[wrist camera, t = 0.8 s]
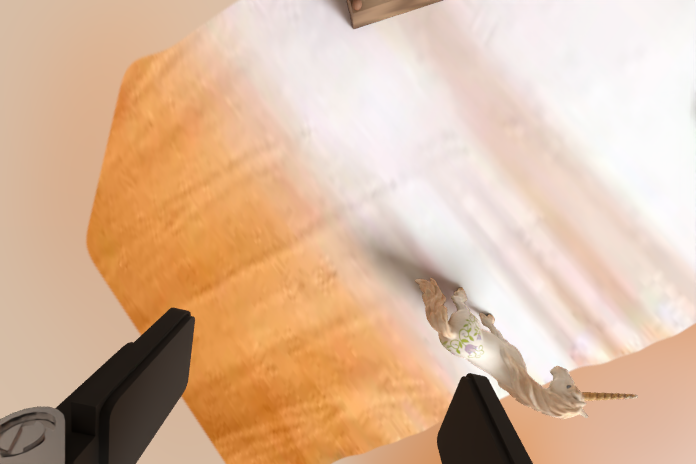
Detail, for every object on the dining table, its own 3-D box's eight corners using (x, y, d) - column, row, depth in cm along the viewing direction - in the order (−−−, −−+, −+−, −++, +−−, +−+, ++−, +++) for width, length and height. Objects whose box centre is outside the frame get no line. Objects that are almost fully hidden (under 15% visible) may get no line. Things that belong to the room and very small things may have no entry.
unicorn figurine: (525, 360, 44) (594, 452, 31) (393, 313, 43) (408, 390, 30) (553, 317, 42) (639, 396, 29) (415, 266, 41) (443, 327, 28)
